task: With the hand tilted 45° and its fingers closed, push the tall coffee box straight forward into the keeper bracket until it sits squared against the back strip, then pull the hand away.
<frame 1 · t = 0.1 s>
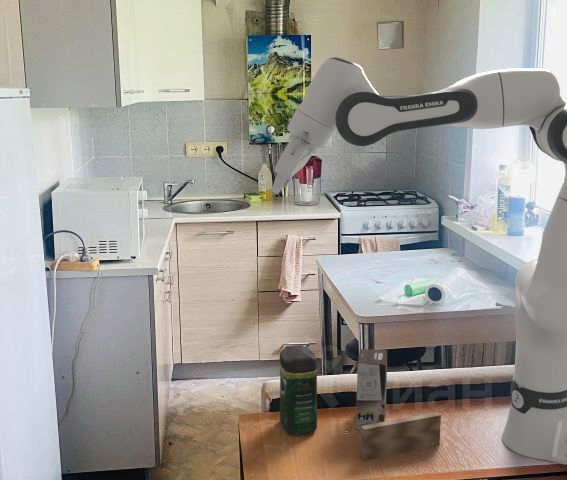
hand: (278, 189, 145), 54 cm above the table, tool tilted 30°, fingers open, 8 cm apart
coffee jar: (298, 427, 156), on the table
coffee box: (371, 422, 158), on the table
keeper bracket: (388, 438, 150), on the table
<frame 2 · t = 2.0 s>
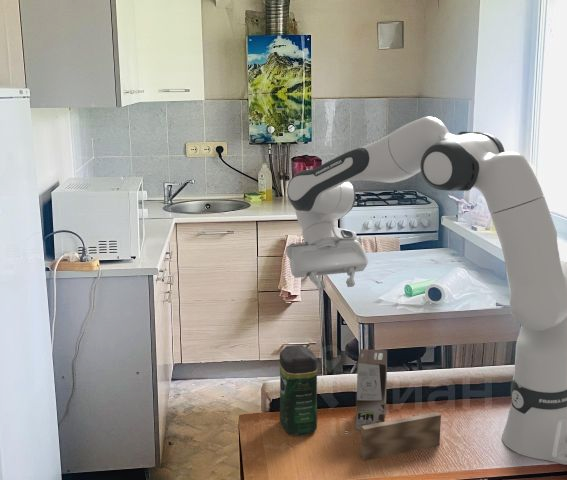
hand: (336, 287, 171), 26 cm above the table, tool tilted 45°, fingers open, 7 cm apart
nothing on the table moved.
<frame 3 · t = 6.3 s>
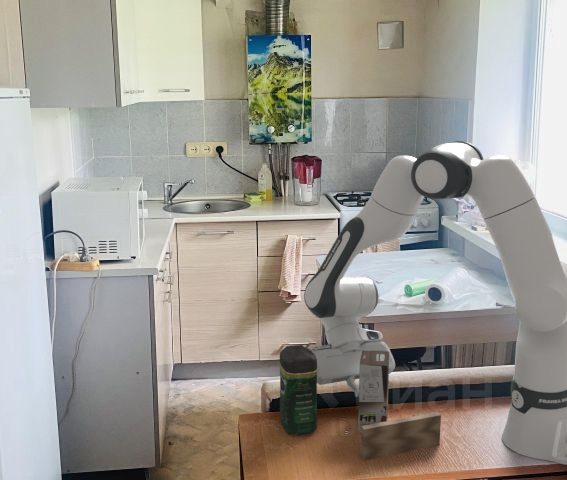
hand: (362, 395, 161), 4 cm above the table, tool tilted 45°, fingers closed
coffee box: (373, 424, 157), on the table, touching gripper
everything else where it was.
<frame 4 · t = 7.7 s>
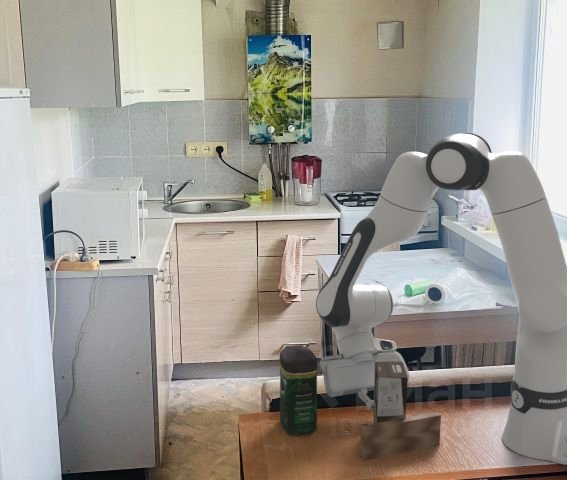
hand: (375, 408, 155), 4 cm above the table, tool tilted 45°, fingers closed
coffee box: (388, 438, 151), on the table, touching gripper, keeper bracket
everything else where it was.
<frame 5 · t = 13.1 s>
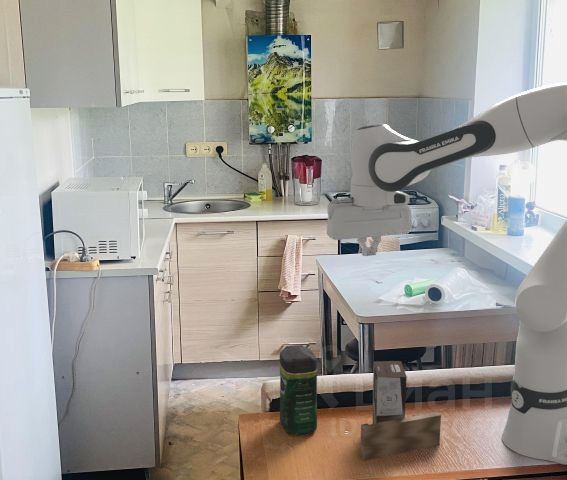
hand: (368, 255, 159), 37 cm above the table, tool pointing down, fingers closed
coffee box: (387, 437, 151), on the table
everything else where it was.
at the end: coffee box 0.7 cm off-centre on the keeper bracket, point 0.0 cm above the keeper bracket's base; coffee box tilted 0°; coffee jar moved 0.2 cm from its start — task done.
